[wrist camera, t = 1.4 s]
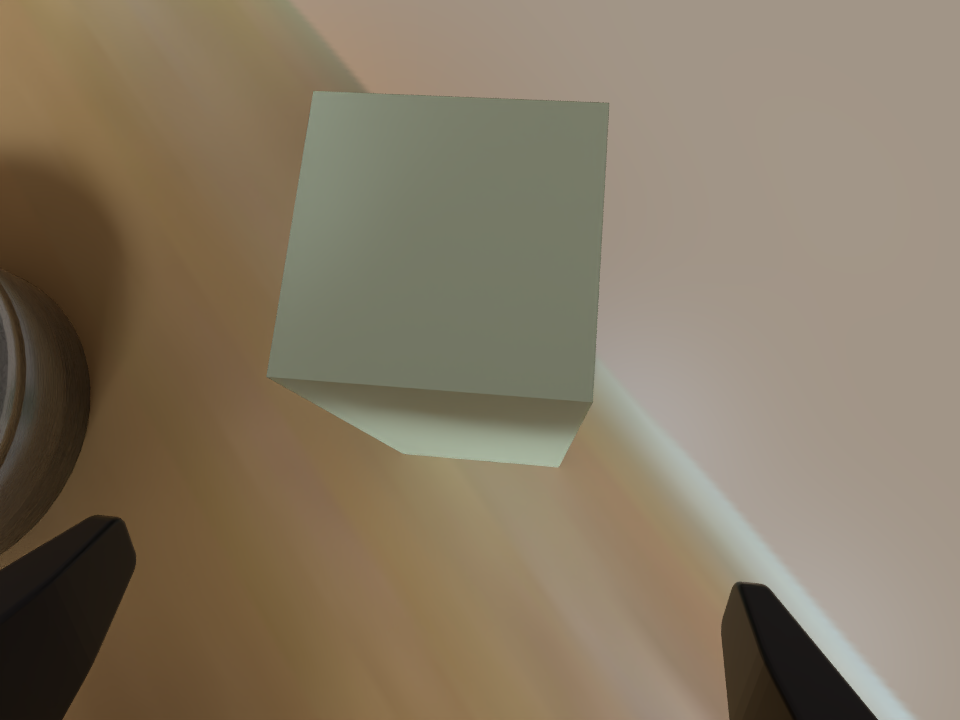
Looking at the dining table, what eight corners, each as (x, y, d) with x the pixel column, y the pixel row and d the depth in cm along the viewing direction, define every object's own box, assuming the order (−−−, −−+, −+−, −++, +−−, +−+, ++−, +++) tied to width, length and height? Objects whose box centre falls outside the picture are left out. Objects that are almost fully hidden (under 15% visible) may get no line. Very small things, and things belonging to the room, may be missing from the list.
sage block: (558, 467, 22) (592, 402, 10) (403, 453, 22) (266, 376, 11) (568, 316, 23) (609, 102, 11) (420, 306, 23) (313, 90, 12)
